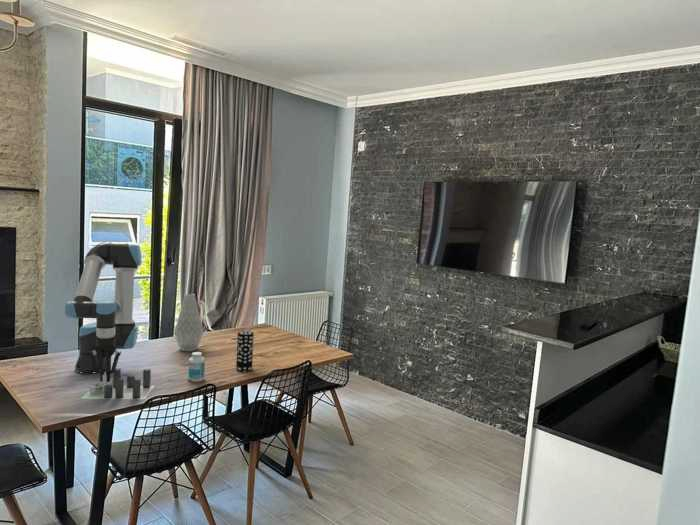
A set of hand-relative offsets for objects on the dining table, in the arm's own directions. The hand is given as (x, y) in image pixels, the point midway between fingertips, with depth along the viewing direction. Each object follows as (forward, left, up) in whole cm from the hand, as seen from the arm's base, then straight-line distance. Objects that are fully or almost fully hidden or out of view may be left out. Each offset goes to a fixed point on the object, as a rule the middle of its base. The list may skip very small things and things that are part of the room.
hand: (105, 388), depth 222 cm
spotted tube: (+58, +37, -3) cm, 69 cm away
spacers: (+9, 0, -2) cm, 9 cm away
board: (+6, 0, -3) cm, 6 cm away
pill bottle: (+36, +20, -3) cm, 41 cm away
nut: (-3, 0, -2) cm, 4 cm away
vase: (+23, +74, -3) cm, 78 cm away
